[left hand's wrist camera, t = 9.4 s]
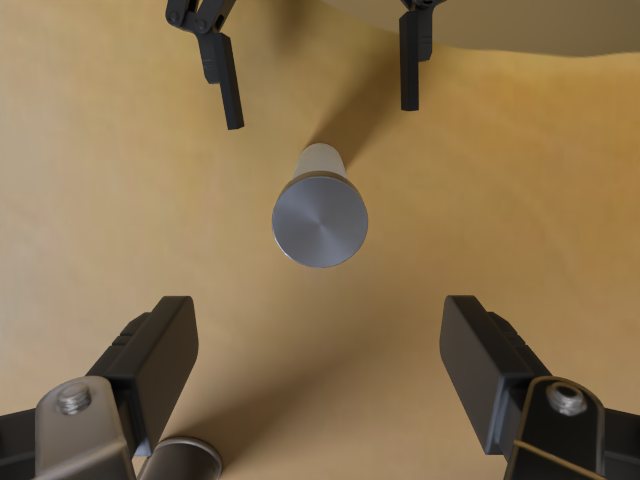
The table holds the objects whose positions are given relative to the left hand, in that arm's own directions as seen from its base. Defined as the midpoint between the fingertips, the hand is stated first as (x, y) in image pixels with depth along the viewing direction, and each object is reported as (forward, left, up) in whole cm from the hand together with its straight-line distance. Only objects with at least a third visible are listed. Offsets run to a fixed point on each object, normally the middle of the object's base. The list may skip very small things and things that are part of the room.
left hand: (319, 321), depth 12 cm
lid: (0, 0, -10) cm, 10 cm away
